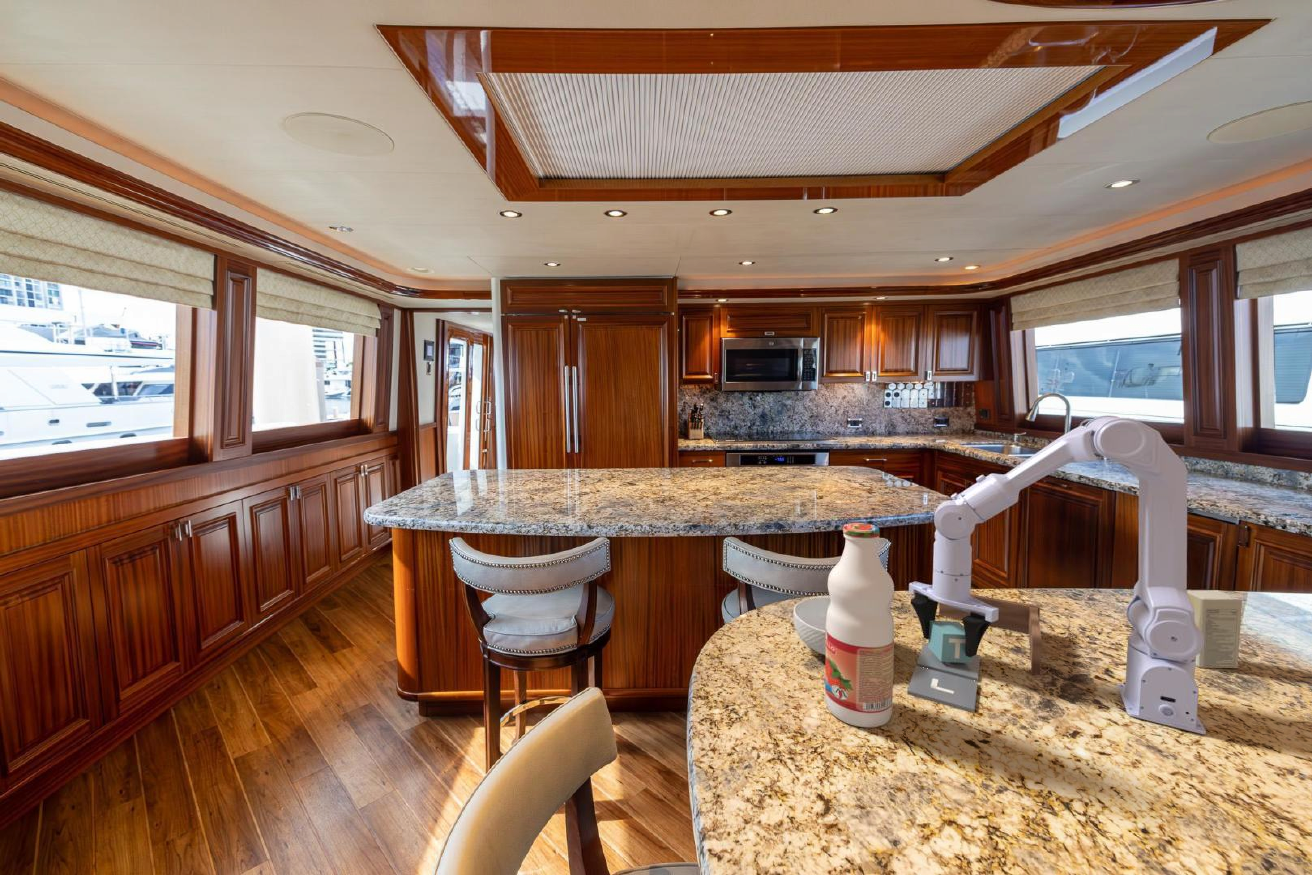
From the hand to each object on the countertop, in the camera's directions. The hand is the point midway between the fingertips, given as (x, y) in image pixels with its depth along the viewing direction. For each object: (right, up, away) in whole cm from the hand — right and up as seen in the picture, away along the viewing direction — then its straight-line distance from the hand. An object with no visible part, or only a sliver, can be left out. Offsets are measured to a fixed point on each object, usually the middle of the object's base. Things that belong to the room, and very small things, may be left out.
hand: (949, 646), depth 90 cm
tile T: (0, -3, 0) cm, 3 cm away
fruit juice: (-21, -4, -13) cm, 25 cm away
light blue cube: (0, -2, 0) cm, 2 cm away
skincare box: (+44, -3, -1) cm, 44 cm away
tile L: (-6, -4, -8) cm, 10 cm away
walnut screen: (+11, -2, +7) cm, 13 cm away
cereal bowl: (-17, -3, +5) cm, 18 cm away
